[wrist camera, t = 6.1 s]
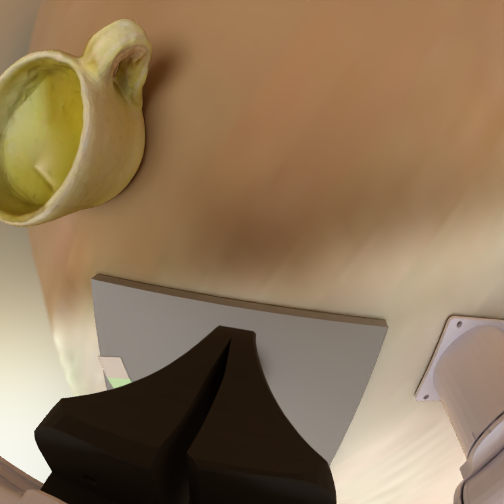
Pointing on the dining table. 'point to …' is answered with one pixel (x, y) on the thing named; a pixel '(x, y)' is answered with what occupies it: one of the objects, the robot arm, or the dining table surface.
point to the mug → (72, 126)
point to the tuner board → (267, 341)
